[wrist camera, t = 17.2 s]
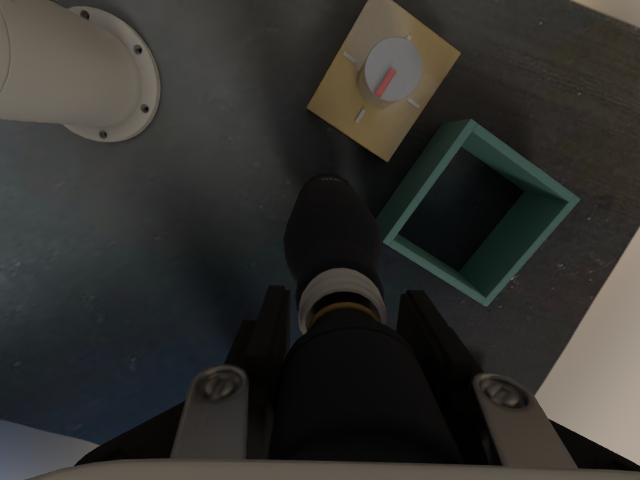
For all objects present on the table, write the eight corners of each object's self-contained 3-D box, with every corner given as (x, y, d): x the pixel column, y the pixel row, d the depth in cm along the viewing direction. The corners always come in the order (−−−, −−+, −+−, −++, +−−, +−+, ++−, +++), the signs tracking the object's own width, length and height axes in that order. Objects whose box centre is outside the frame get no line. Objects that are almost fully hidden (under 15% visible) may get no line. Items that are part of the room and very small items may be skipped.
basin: (371, 224, 38) (382, 242, 32) (442, 123, 35) (471, 118, 28) (459, 280, 40) (486, 307, 34) (533, 189, 37) (581, 199, 30)
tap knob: (376, 42, 30) (387, 21, 25) (416, 72, 31) (435, 58, 26) (347, 89, 31) (353, 78, 26) (387, 117, 32) (400, 112, 27)
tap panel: (307, 110, 35) (306, 107, 32) (370, 0, 32) (375, -15, 29) (382, 161, 36) (388, 162, 33) (449, 60, 33) (462, 52, 30)
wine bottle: (317, 242, 36) (310, 641, 7) (286, 193, 34) (115, 457, 6) (367, 213, 35) (590, 540, 6) (337, 161, 33) (453, 281, 5)
